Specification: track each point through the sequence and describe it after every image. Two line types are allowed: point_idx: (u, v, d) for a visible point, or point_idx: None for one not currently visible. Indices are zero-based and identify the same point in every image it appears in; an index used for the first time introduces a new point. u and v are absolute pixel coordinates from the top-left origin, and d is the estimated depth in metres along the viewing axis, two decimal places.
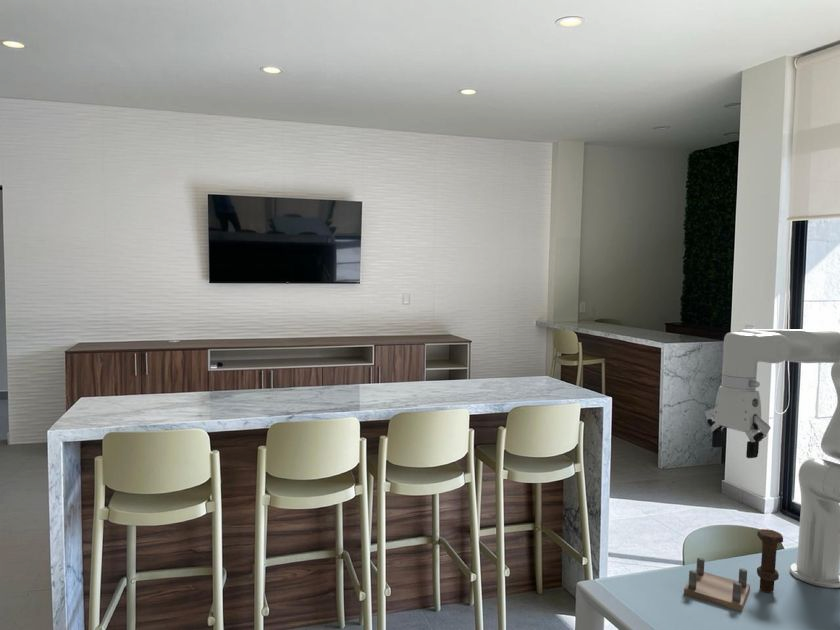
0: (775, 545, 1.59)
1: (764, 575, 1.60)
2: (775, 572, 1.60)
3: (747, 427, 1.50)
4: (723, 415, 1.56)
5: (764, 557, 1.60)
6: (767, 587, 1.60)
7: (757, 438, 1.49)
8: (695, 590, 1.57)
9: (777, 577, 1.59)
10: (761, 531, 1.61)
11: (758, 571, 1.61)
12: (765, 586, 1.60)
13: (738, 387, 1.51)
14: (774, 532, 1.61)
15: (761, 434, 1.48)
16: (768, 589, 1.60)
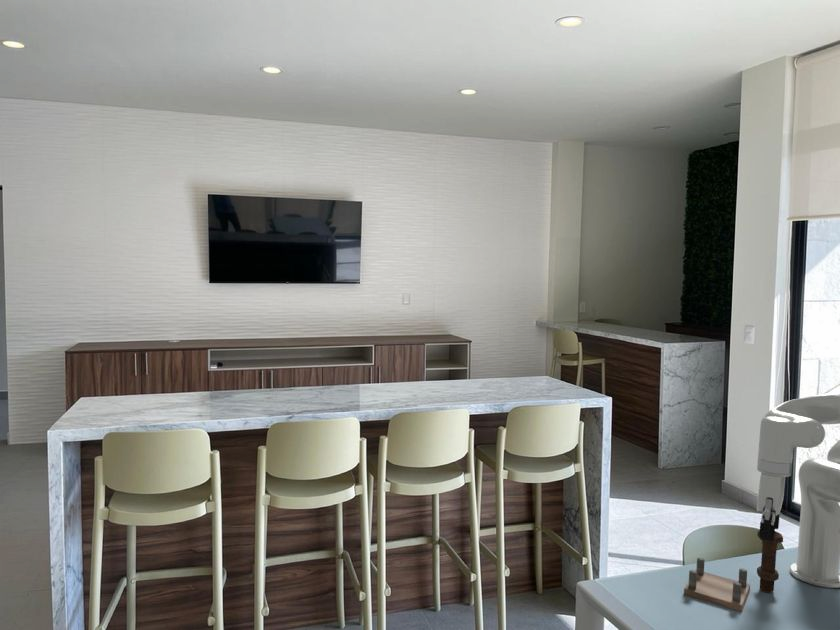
0: (775, 545, 1.59)
1: (764, 575, 1.60)
2: (775, 572, 1.60)
3: None
4: (781, 502, 1.57)
5: (764, 557, 1.60)
6: (767, 587, 1.60)
7: None
8: (695, 590, 1.57)
9: (777, 577, 1.59)
10: None
11: (758, 571, 1.61)
12: (765, 586, 1.60)
13: None
14: None
15: None
16: (768, 589, 1.60)
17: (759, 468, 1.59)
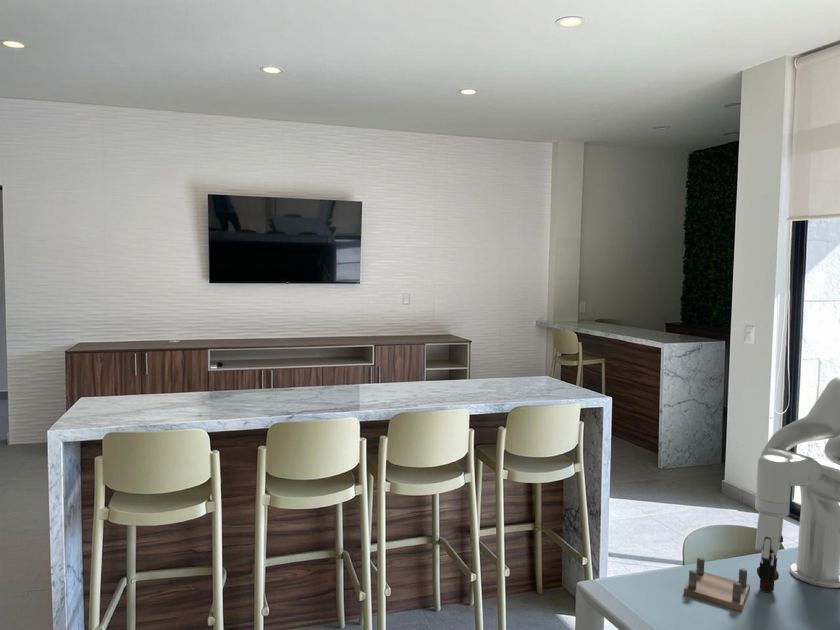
0: None
1: None
2: (775, 572, 1.60)
3: None
4: (779, 541, 1.58)
5: None
6: (767, 587, 1.60)
7: None
8: (695, 590, 1.57)
9: (777, 577, 1.59)
10: None
11: (758, 571, 1.61)
12: (765, 586, 1.60)
13: None
14: None
15: None
16: (768, 589, 1.60)
17: (757, 507, 1.60)
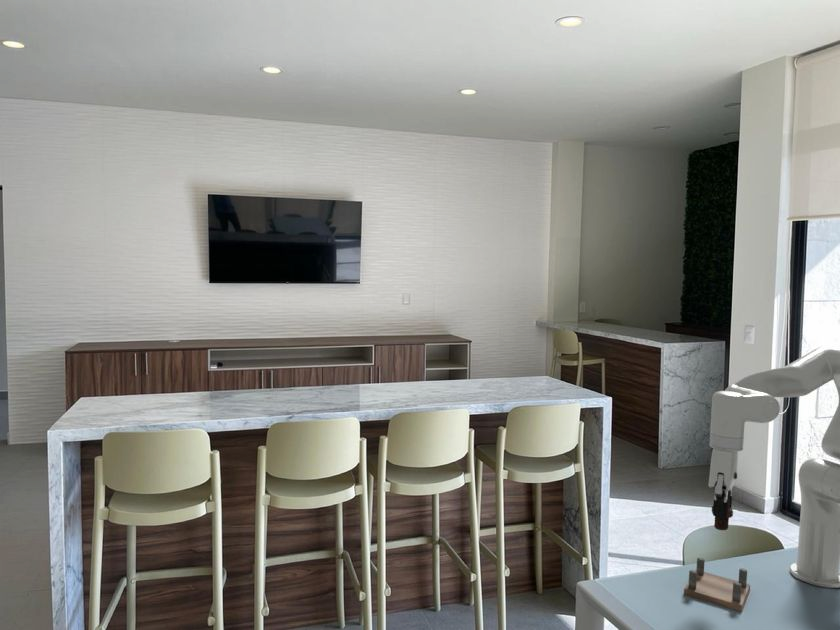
0: None
1: None
2: (729, 509, 1.57)
3: None
4: (733, 478, 1.55)
5: None
6: (721, 525, 1.57)
7: None
8: (695, 590, 1.57)
9: (731, 514, 1.57)
10: None
11: (712, 509, 1.59)
12: (719, 524, 1.57)
13: None
14: None
15: None
16: (722, 527, 1.57)
17: (711, 443, 1.57)
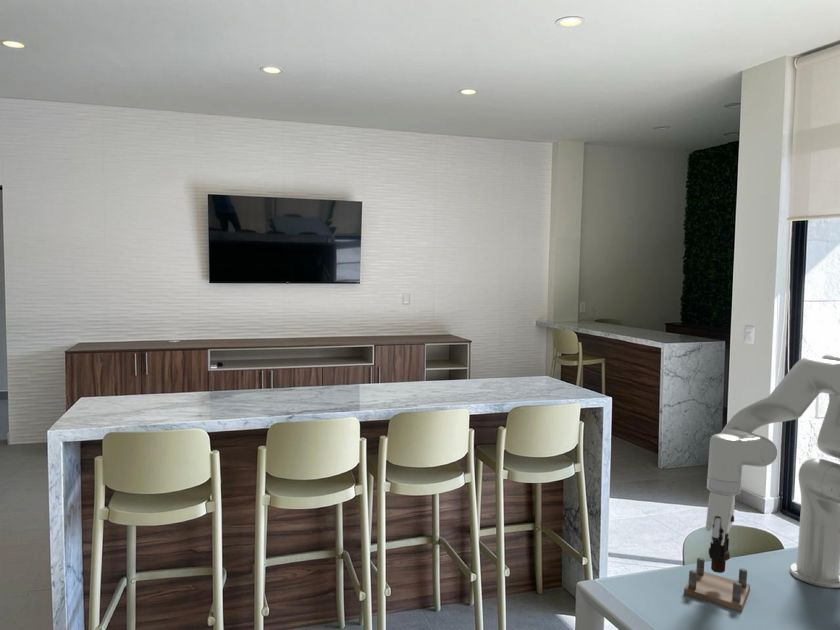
0: None
1: None
2: (726, 552, 1.57)
3: None
4: (730, 521, 1.56)
5: None
6: (718, 567, 1.58)
7: None
8: (695, 590, 1.57)
9: (728, 557, 1.57)
10: None
11: (709, 551, 1.59)
12: (716, 566, 1.58)
13: None
14: None
15: None
16: (719, 569, 1.58)
17: (708, 486, 1.58)
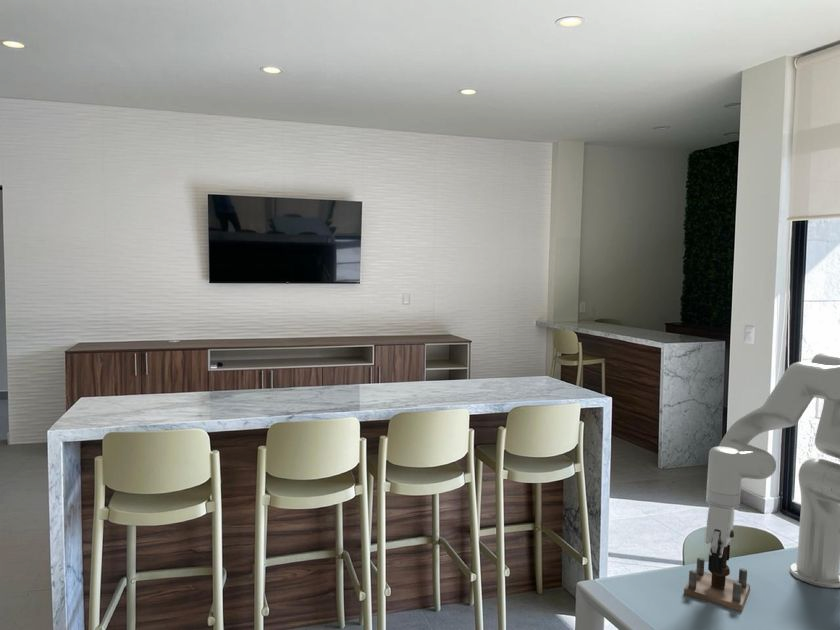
0: None
1: None
2: (726, 567, 1.58)
3: None
4: (729, 534, 1.56)
5: None
6: (718, 583, 1.58)
7: None
8: (695, 590, 1.57)
9: (728, 573, 1.58)
10: None
11: None
12: (716, 582, 1.58)
13: None
14: None
15: None
16: (719, 585, 1.58)
17: (707, 499, 1.58)
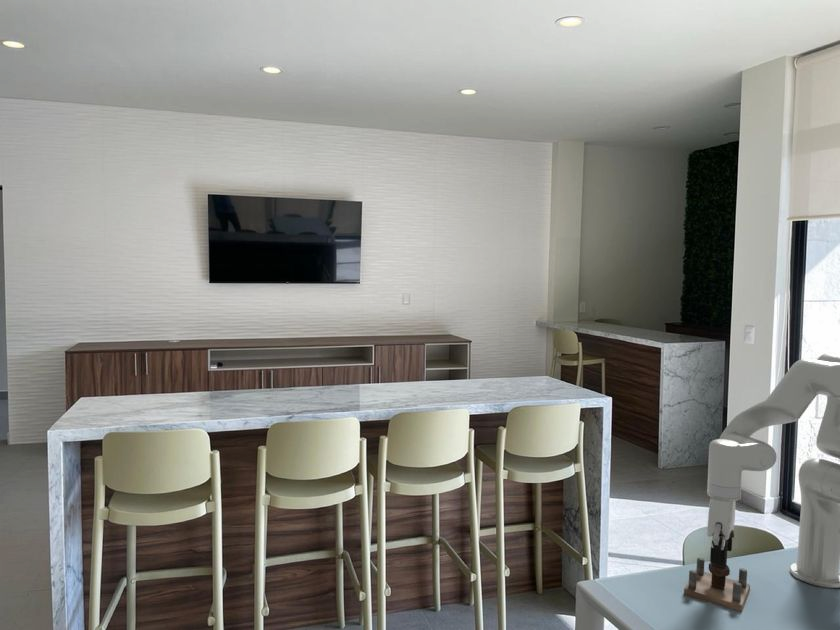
0: (726, 540, 1.57)
1: (715, 571, 1.58)
2: (726, 568, 1.58)
3: None
4: (731, 526, 1.56)
5: None
6: (718, 583, 1.58)
7: None
8: (695, 590, 1.57)
9: (728, 573, 1.57)
10: None
11: (709, 567, 1.60)
12: (716, 582, 1.58)
13: None
14: None
15: None
16: (719, 585, 1.58)
17: (708, 492, 1.58)
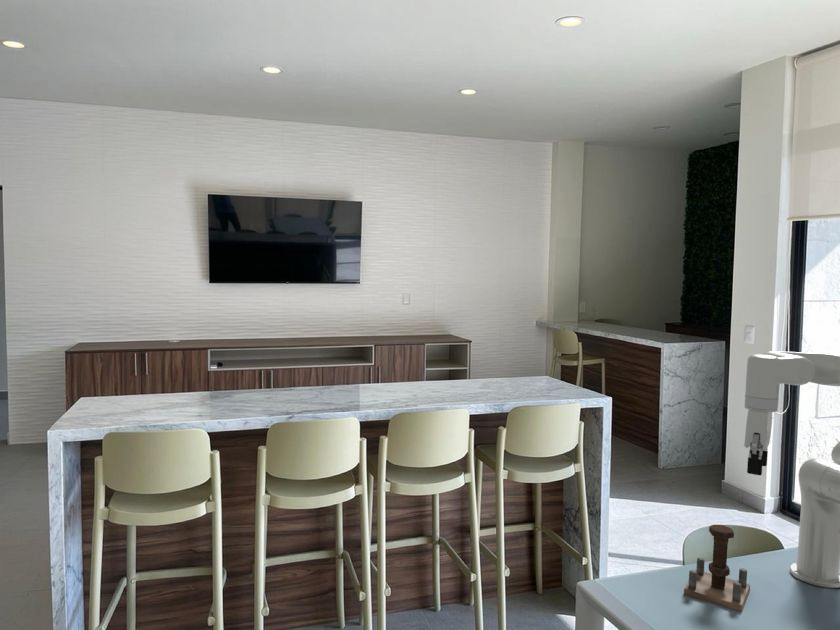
0: (726, 540, 1.57)
1: (715, 571, 1.58)
2: (726, 568, 1.58)
3: None
4: (768, 438, 1.59)
5: (715, 553, 1.58)
6: (718, 583, 1.58)
7: None
8: (695, 590, 1.57)
9: (728, 573, 1.57)
10: (712, 526, 1.59)
11: (709, 567, 1.60)
12: (716, 582, 1.58)
13: None
14: (725, 527, 1.59)
15: None
16: (719, 585, 1.58)
17: (746, 405, 1.61)
